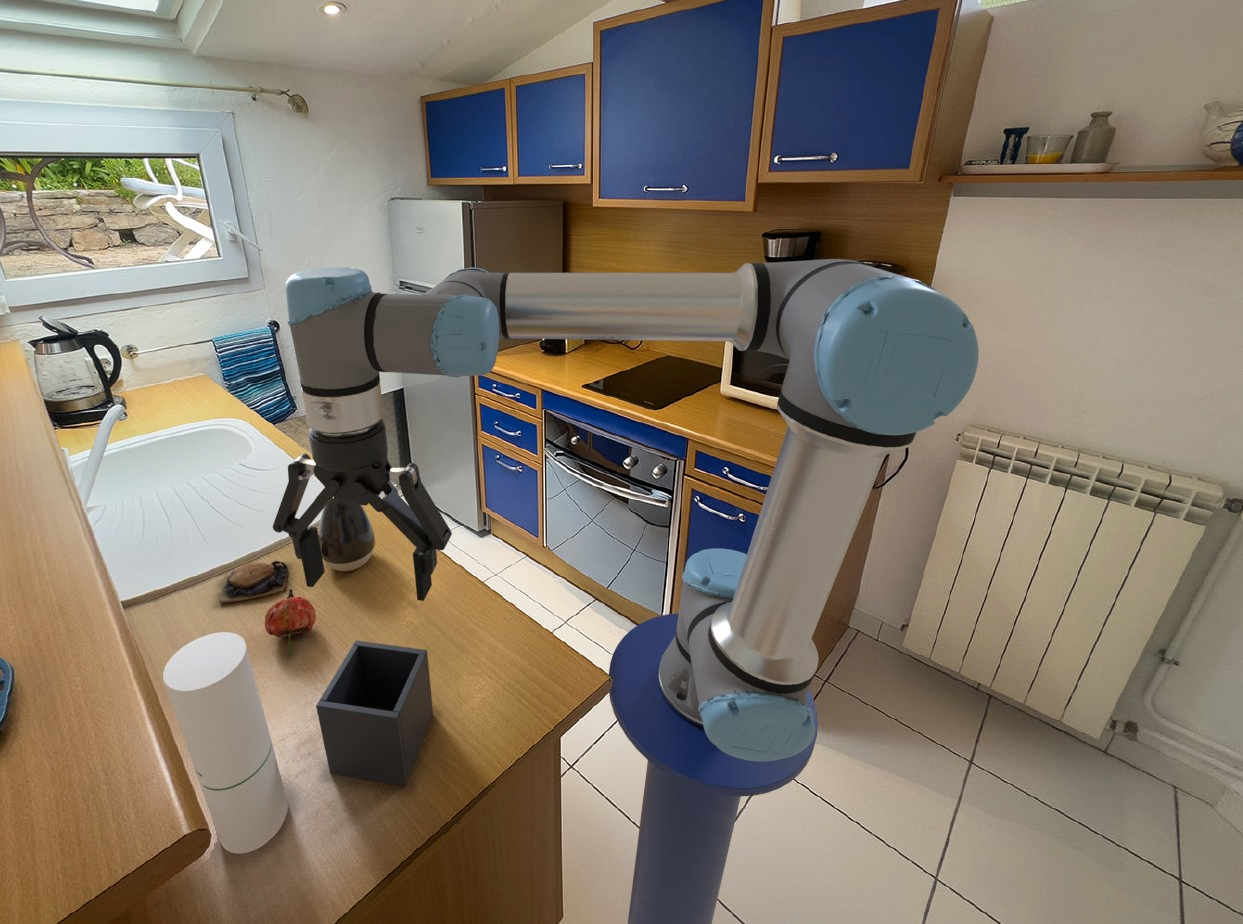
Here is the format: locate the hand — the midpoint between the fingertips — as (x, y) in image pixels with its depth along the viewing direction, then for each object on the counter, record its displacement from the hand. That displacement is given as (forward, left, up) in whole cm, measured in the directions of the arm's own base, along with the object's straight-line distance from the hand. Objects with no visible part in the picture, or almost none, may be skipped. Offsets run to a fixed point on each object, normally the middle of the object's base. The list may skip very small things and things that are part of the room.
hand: (369, 586), depth 65 cm
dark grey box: (0, +7, -19) cm, 20 cm away
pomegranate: (+22, -13, -25) cm, 36 cm away
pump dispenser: (+22, -32, -25) cm, 46 cm away
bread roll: (+36, -23, -25) cm, 49 cm away
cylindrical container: (+11, +13, -25) cm, 30 cm away
